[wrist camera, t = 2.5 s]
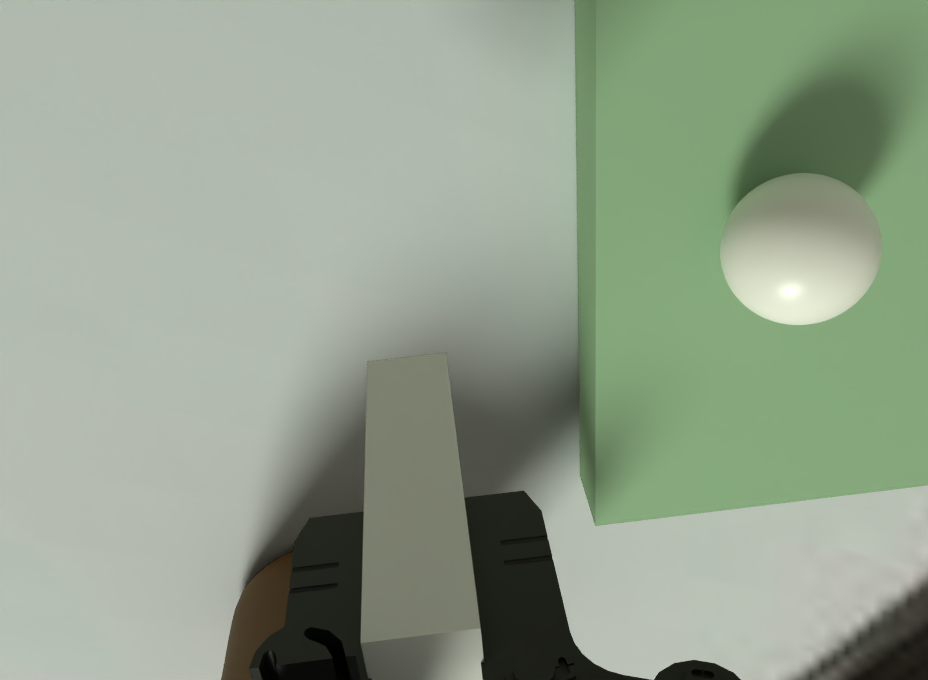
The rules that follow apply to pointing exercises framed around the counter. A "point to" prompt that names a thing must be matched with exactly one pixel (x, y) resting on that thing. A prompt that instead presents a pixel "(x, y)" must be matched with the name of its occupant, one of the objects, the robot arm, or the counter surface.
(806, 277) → the ball
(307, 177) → the counter surface
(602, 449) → the green
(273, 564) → the mug
